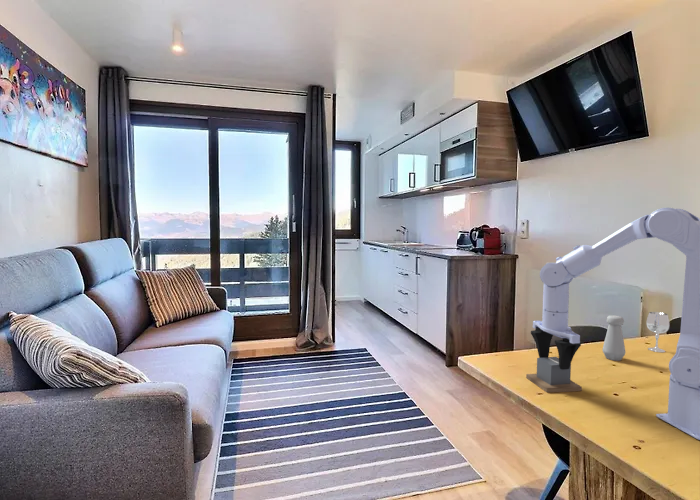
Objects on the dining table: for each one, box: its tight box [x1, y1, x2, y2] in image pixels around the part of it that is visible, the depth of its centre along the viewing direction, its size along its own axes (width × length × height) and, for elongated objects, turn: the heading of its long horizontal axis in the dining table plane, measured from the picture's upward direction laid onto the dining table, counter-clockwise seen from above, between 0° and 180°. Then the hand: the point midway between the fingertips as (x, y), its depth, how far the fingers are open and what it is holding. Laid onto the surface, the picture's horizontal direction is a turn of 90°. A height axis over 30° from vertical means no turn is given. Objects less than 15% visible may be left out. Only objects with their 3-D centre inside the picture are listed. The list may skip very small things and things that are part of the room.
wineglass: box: [646, 311, 670, 353], centre depth 125 cm, size 6×6×12 cm
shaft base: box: [525, 373, 583, 393], centre depth 98 cm, size 9×9×4 cm
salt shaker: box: [602, 314, 626, 362], centre depth 117 cm, size 6×6×13 cm
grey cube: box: [536, 356, 572, 385], centre depth 98 cm, size 5×5×5 cm
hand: (553, 363), depth 98 cm, fingers open, 7 cm apart
